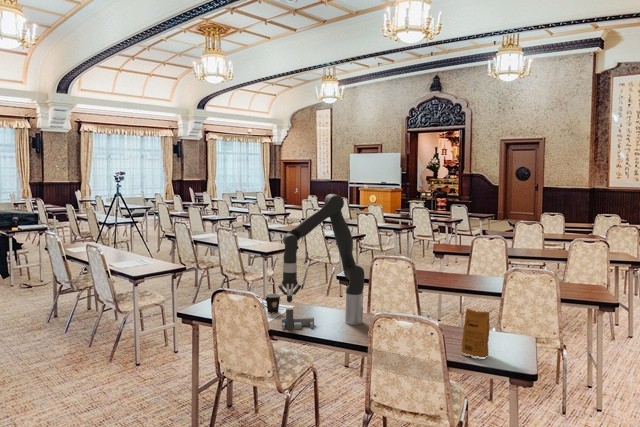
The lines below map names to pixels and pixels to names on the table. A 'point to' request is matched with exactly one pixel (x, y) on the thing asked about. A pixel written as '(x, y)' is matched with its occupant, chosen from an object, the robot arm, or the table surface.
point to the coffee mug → (272, 302)
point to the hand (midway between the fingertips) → (289, 302)
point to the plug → (289, 317)
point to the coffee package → (476, 333)
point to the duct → (299, 322)
